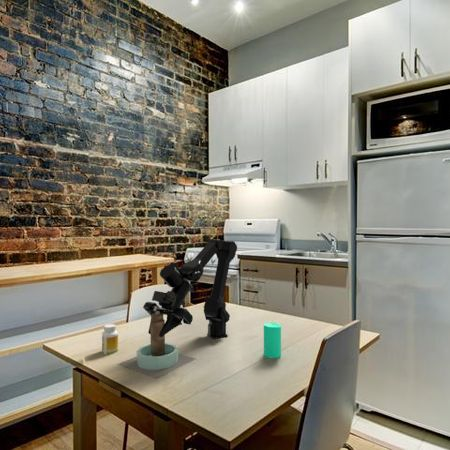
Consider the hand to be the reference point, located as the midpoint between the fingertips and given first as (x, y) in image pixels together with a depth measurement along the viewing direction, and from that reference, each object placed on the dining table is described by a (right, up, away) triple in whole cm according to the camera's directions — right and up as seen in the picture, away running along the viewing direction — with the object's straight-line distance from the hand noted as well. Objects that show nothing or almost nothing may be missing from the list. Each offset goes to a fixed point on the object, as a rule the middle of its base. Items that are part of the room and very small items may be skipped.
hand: (154, 335), depth 114 cm
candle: (+39, -10, +8) cm, 41 cm away
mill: (+1, -7, +1) cm, 7 cm away
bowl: (+1, -9, +1) cm, 9 cm away
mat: (+1, -10, +1) cm, 10 cm away
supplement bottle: (-18, -10, +10) cm, 23 cm away
